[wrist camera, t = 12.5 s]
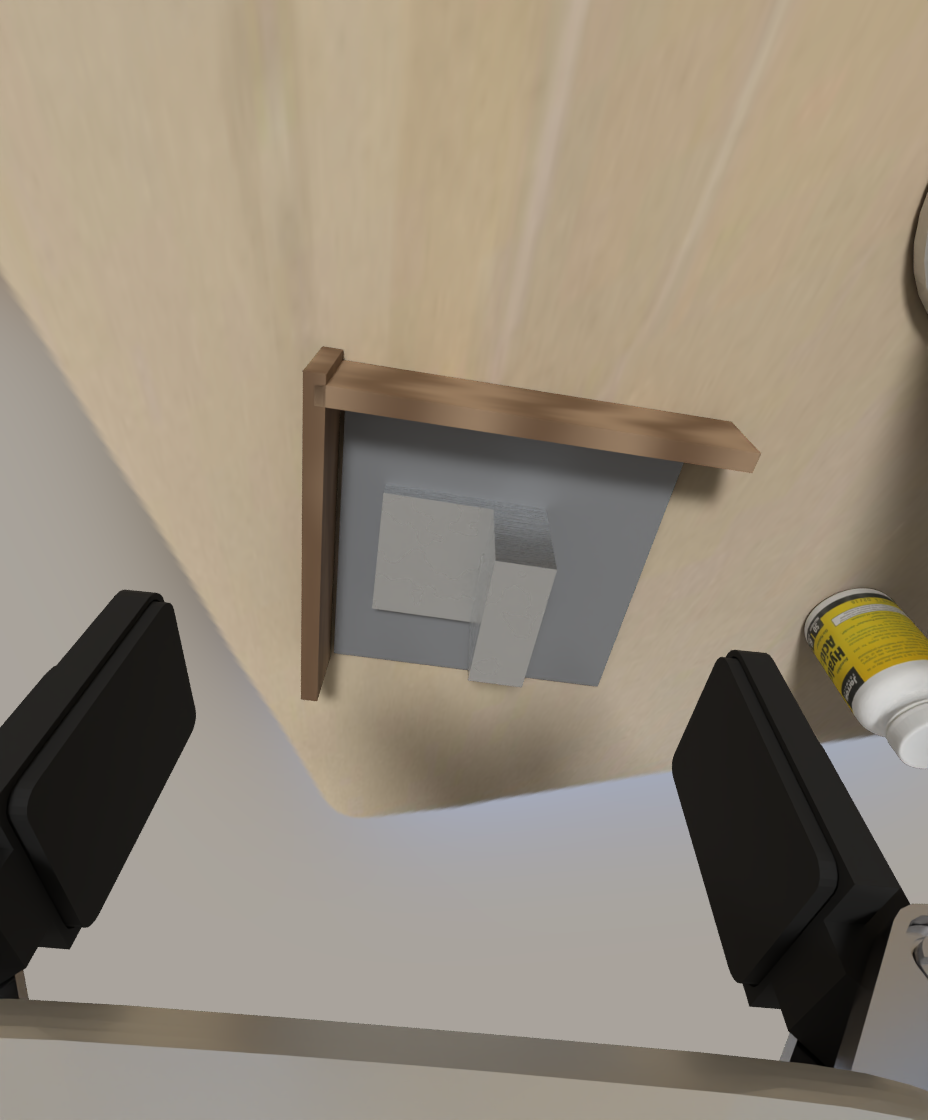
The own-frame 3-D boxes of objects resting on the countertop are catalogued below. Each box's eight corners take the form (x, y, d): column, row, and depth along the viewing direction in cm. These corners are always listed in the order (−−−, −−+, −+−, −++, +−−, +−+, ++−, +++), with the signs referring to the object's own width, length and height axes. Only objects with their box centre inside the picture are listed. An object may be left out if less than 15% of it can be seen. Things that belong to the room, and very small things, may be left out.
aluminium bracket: (516, 618, 39) (521, 687, 34) (374, 598, 38) (358, 665, 33) (545, 508, 34) (557, 569, 29) (385, 484, 34) (369, 542, 29)
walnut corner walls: (735, 412, 31) (765, 443, 28) (618, 693, 43) (630, 739, 39) (322, 346, 30) (303, 370, 27) (315, 655, 41) (301, 699, 38)
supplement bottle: (793, 603, 38) (879, 726, 30) (887, 572, 37) (1004, 693, 29) (808, 661, 41) (890, 789, 33) (896, 635, 39) (1005, 761, 31)
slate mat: (689, 439, 32) (691, 442, 32) (596, 682, 42) (597, 686, 42) (347, 386, 31) (346, 388, 31) (334, 648, 41) (333, 652, 41)
